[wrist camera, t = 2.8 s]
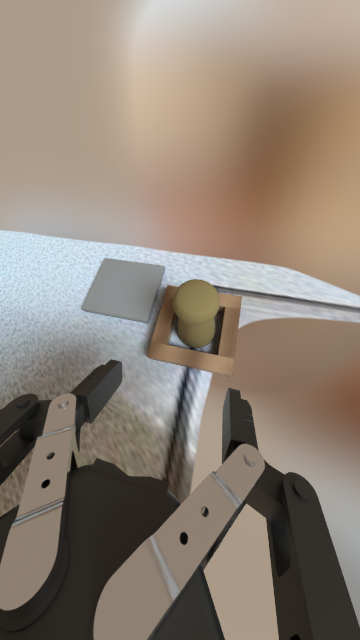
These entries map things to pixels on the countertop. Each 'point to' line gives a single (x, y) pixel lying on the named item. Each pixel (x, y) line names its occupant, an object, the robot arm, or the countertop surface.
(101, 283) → the slate pad
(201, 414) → the countertop surface
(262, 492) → the robot arm
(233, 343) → the walnut socket
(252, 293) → the countertop surface
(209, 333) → the cork
